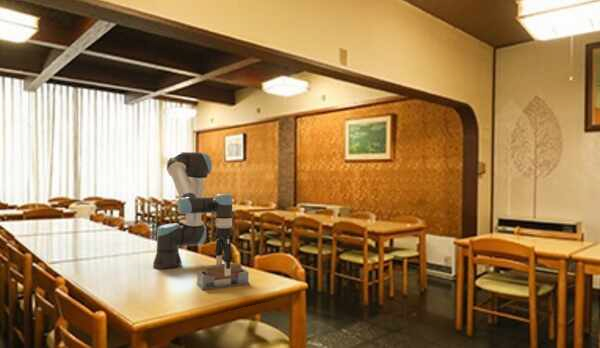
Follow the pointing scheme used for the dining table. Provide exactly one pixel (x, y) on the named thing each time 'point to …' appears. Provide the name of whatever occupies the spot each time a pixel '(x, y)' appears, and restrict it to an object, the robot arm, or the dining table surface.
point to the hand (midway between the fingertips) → (223, 272)
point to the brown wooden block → (222, 271)
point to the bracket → (211, 283)
